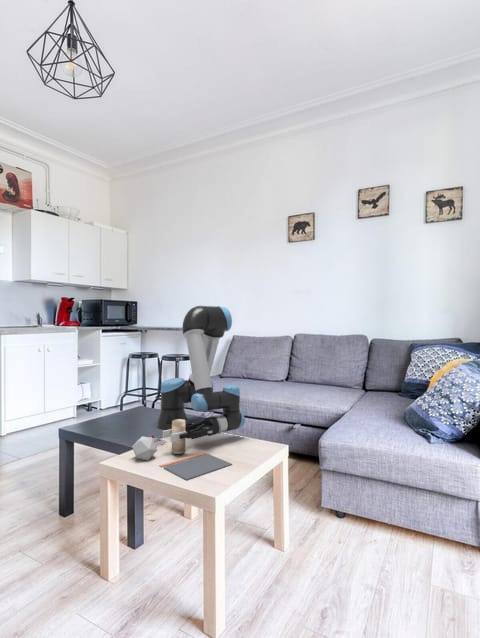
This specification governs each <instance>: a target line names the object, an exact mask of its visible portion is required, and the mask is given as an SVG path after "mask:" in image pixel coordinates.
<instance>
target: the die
mask: <svg viewBox="0 0 480 638" xmlns="http://www.w3.org/2000/svg"><path fill="white" fill-rule="evenodd" d="M150 437H151V436H150ZM150 437H147V436H141V437H139V438H138V439H137V441H136V442H135V443H133V445H132V450H133V452H134V454H135V457H136V459H137V460H141V459H142V461H147V462H148V461H149V460H150V459H151V458H152V457H153V455H155V454H156V453H157V451H158V447H156V445H155V443H154V440H153V438H150Z"/></svg>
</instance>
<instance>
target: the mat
mask: <svg viewBox="0 0 480 638" xmlns="http://www.w3.org/2000/svg"><path fill="white" fill-rule="evenodd" d="M232 465H233V463H231V462H228V461H227V460H224V459H222V458H219V457H216V456H214V455H212V454H209V453H206V454H205V455H202V456H198V457H195V458H192V459H188V460H185V461H182V462H178V463H175V464H172V465H168V466H165V467H163V470H165V471H168V472H170V473H172V474H173V475H175V476H177V477H179V478H181V479H183V480H184V481H186V482H187V481H190V480H193V479H195V478H198V477H201V476H204V475H208V474H210V473H212V472H215V471H218V470H221V469H224V468H226V467H227V468H228V467H230V466H232Z"/></svg>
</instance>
